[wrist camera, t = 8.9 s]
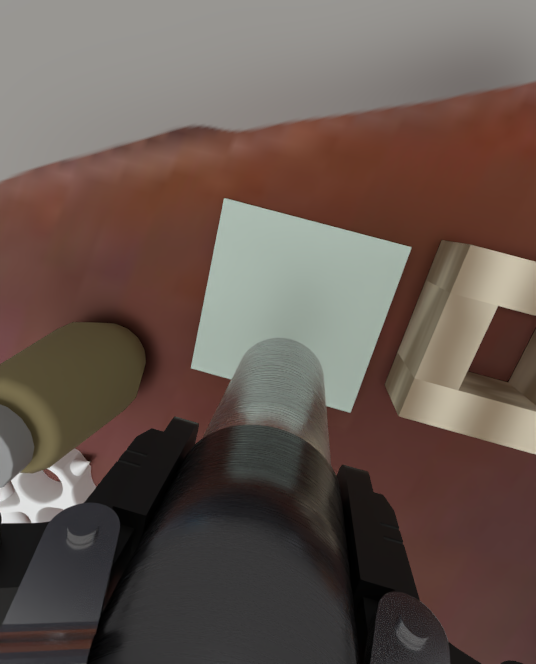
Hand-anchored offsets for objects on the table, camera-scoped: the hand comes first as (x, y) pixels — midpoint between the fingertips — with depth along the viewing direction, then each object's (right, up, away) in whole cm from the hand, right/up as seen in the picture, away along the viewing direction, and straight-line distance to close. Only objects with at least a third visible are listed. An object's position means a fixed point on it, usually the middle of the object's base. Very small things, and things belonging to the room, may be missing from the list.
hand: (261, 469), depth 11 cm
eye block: (+17, +4, +17) cm, 24 cm away
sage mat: (+2, +6, +18) cm, 19 cm away
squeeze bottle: (-13, +2, +21) cm, 25 cm away
